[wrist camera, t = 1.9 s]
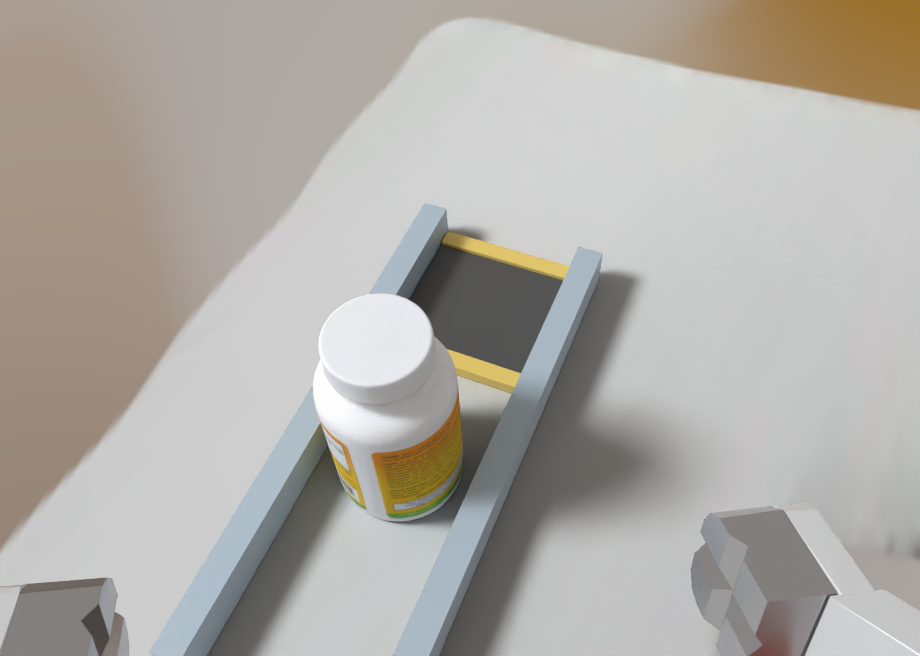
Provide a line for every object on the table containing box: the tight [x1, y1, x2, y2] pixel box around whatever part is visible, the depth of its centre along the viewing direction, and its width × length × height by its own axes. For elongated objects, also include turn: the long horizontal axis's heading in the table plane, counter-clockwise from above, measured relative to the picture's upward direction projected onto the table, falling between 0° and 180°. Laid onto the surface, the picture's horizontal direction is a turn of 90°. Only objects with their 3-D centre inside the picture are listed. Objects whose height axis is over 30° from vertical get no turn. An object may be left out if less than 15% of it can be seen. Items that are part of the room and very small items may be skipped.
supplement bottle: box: [313, 293, 464, 521], centre depth 33 cm, size 5×5×10 cm
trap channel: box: [150, 203, 603, 656], centre depth 37 cm, size 24×9×2 cm, turn 157°
